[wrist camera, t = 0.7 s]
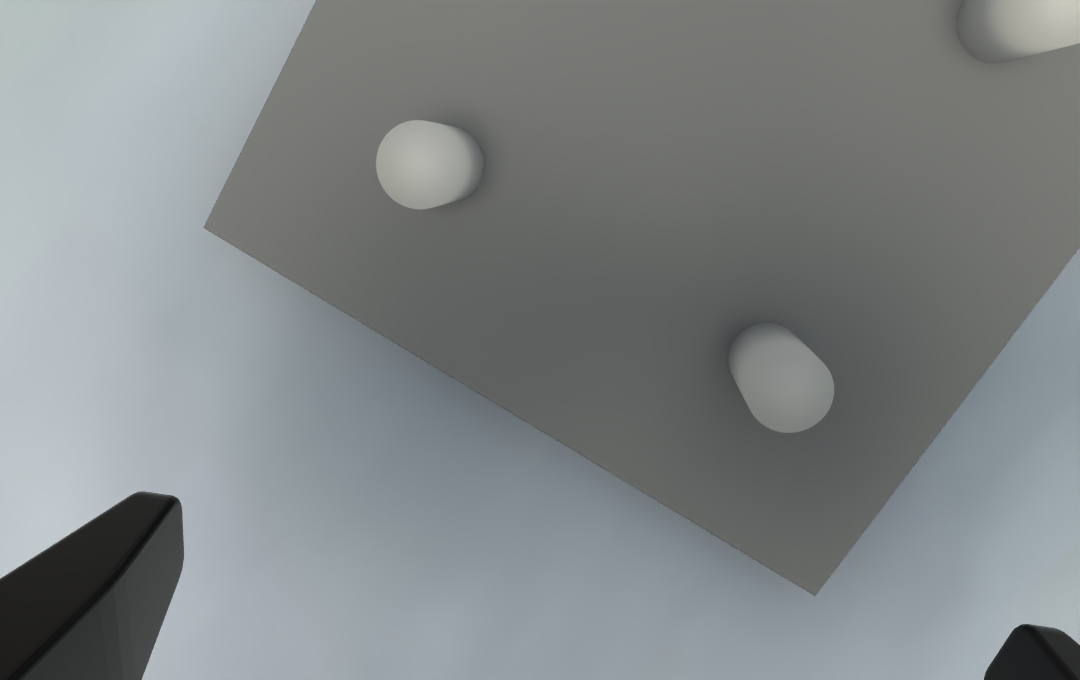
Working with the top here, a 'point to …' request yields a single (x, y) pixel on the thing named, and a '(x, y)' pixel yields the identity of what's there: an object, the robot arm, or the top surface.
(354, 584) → the top surface
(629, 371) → the peg board
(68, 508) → the top surface
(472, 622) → the top surface
